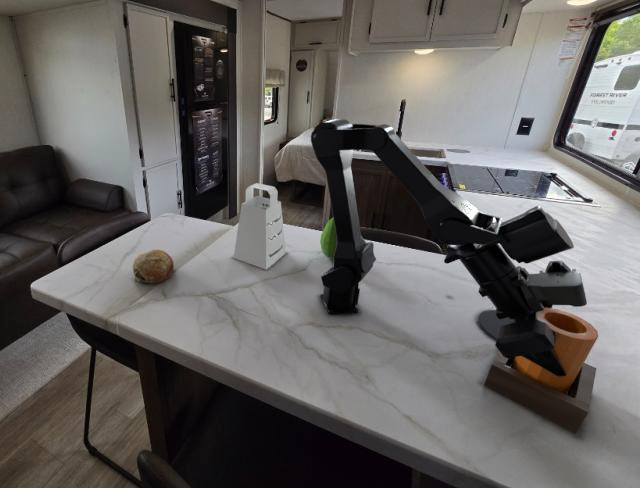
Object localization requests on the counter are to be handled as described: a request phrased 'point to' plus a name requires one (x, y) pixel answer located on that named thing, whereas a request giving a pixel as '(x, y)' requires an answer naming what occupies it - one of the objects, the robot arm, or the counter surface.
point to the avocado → (329, 239)
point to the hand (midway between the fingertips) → (561, 360)
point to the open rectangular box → (544, 393)
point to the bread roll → (153, 266)
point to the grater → (260, 229)
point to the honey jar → (561, 349)
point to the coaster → (491, 322)
